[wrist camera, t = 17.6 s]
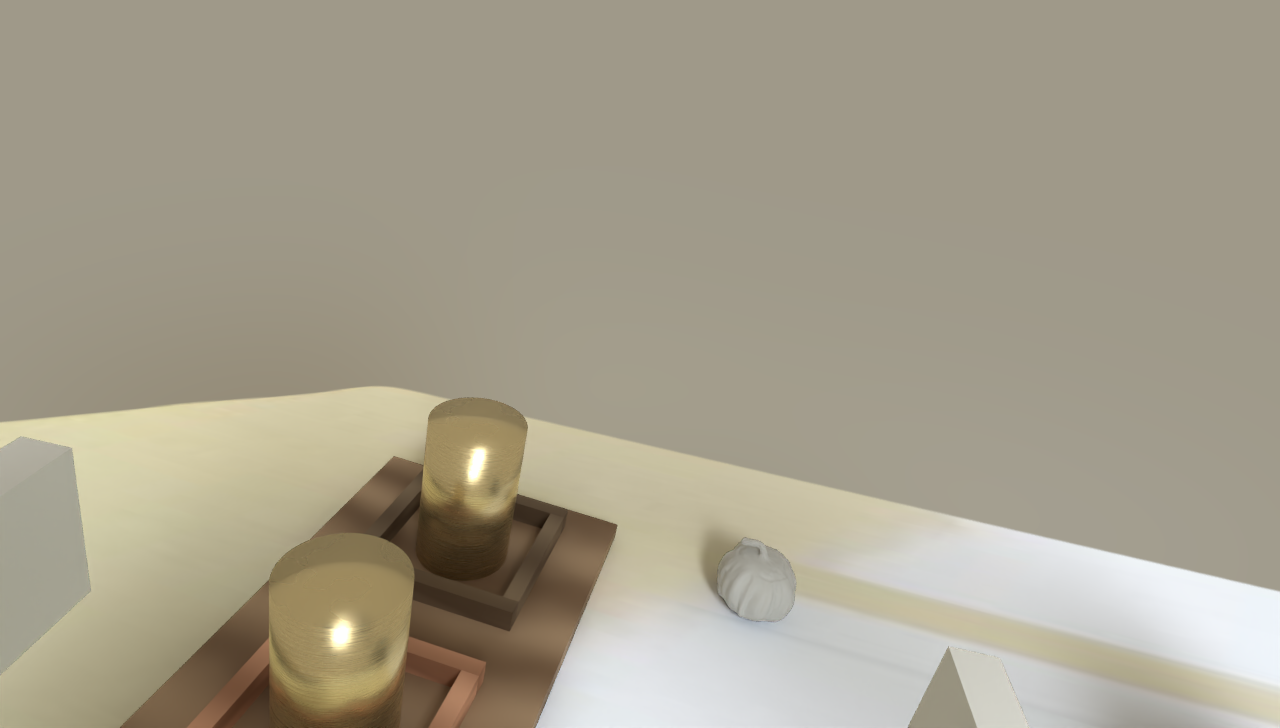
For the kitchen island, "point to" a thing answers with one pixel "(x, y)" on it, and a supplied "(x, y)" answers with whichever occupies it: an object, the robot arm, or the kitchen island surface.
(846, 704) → the kitchen island surface
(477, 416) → the cylinder
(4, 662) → the robot arm
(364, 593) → the brass billet
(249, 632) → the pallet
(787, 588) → the garlic
